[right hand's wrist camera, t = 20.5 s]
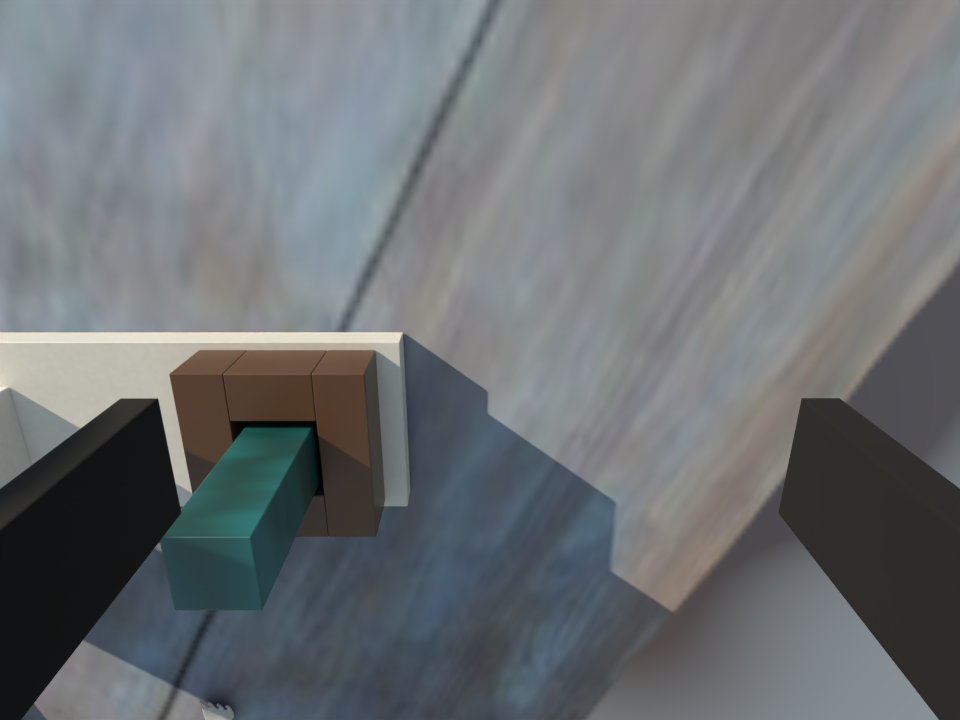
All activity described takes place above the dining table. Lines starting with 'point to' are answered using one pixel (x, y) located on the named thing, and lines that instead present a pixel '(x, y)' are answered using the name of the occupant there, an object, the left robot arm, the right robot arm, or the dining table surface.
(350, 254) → the dining table surface
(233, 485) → the peg
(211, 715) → the fork
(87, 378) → the peg board
